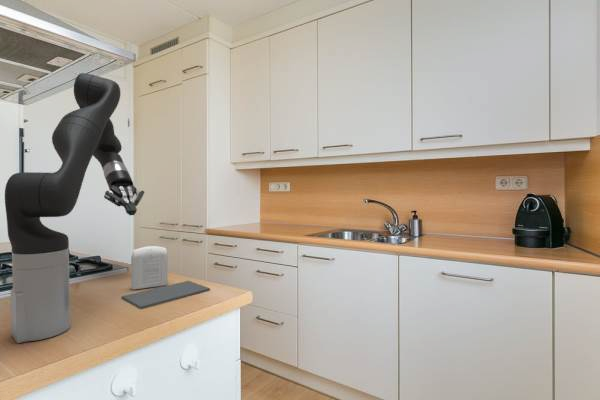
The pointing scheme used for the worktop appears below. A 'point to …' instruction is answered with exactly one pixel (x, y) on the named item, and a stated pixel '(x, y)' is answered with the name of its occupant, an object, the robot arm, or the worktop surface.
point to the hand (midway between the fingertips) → (132, 213)
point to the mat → (164, 294)
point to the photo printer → (149, 267)
